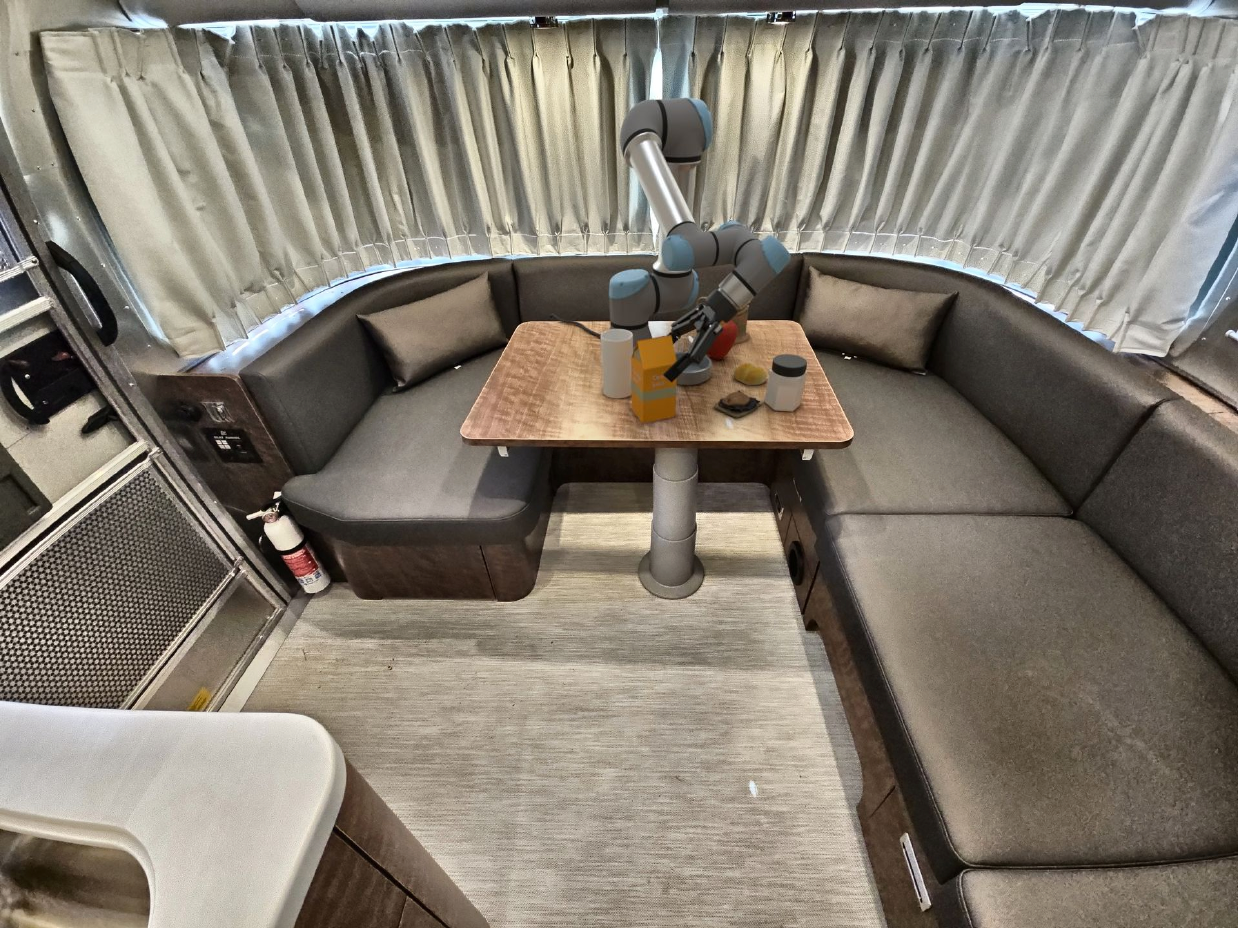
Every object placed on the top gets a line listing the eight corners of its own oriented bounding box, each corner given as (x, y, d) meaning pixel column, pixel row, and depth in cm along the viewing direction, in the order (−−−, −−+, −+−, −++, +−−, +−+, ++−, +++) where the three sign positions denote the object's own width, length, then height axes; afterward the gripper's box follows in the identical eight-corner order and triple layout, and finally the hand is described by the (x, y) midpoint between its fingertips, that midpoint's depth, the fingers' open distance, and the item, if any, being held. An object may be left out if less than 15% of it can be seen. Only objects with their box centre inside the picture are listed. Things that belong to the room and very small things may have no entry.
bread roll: (754, 389, 143) (756, 375, 141) (728, 378, 149) (729, 365, 147) (772, 379, 148) (774, 366, 145) (747, 369, 153) (748, 356, 151)
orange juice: (675, 416, 133) (679, 340, 121) (642, 423, 130) (643, 347, 119) (662, 402, 139) (664, 329, 127) (631, 409, 136) (630, 334, 125)
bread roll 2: (737, 420, 131) (739, 407, 128) (711, 407, 136) (712, 395, 134) (764, 405, 136) (766, 393, 134) (738, 394, 141) (739, 381, 139)
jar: (806, 408, 134) (815, 365, 127) (778, 415, 132) (786, 370, 125) (785, 393, 141) (793, 351, 134) (759, 399, 139) (765, 356, 132)
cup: (611, 401, 140) (609, 343, 131) (598, 388, 146) (595, 332, 137) (638, 393, 143) (638, 337, 134) (624, 381, 149) (623, 326, 140)
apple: (701, 348, 166) (704, 310, 159) (736, 351, 164) (740, 313, 157) (695, 363, 158) (698, 324, 150) (732, 367, 155) (736, 327, 148)
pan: (651, 373, 153) (651, 360, 151) (687, 360, 159) (688, 347, 157) (683, 391, 144) (684, 377, 141) (721, 376, 150) (722, 363, 148)
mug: (699, 326, 182) (702, 291, 175) (751, 332, 176) (756, 296, 169) (689, 338, 173) (691, 302, 166) (743, 346, 167) (748, 308, 160)
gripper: (757, 330, 111) (684, 399, 119) (722, 293, 132) (661, 354, 139) (735, 307, 108) (661, 380, 115) (702, 272, 128) (641, 336, 135)
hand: (661, 366), depth 127 cm, fingers open, 13 cm apart
